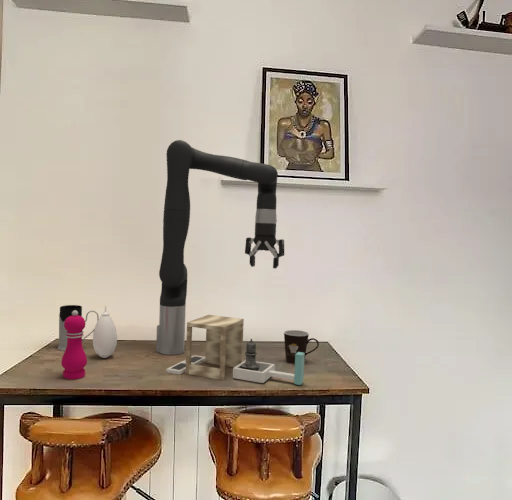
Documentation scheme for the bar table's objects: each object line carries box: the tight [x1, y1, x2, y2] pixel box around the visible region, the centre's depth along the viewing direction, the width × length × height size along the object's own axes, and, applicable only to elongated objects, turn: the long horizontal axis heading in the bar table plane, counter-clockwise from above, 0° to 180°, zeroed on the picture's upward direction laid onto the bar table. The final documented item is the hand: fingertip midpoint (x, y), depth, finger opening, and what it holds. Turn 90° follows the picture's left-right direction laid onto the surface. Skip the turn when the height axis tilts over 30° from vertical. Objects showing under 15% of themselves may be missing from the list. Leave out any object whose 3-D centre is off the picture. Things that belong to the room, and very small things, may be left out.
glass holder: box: [57, 304, 100, 352], centre depth 176 cm, size 9×14×15 cm, turn 94°
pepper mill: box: [60, 310, 88, 380], centre depth 145 cm, size 7×7×20 cm
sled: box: [232, 352, 306, 386], centre depth 149 cm, size 20×10×9 cm, turn 68°
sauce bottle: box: [92, 305, 118, 359], centre depth 165 cm, size 8×8×18 cm
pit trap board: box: [165, 354, 206, 376], centre depth 160 cm, size 5×18×1 cm, turn 158°
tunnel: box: [185, 314, 245, 381], centre depth 155 cm, size 13×14×16 cm
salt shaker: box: [241, 338, 260, 371], centre depth 151 cm, size 6×6×12 cm
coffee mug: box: [283, 329, 320, 365], centre depth 168 cm, size 12×9×10 cm
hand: (263, 267), depth 174 cm, fingers open, 8 cm apart
